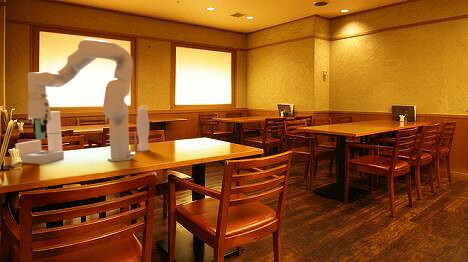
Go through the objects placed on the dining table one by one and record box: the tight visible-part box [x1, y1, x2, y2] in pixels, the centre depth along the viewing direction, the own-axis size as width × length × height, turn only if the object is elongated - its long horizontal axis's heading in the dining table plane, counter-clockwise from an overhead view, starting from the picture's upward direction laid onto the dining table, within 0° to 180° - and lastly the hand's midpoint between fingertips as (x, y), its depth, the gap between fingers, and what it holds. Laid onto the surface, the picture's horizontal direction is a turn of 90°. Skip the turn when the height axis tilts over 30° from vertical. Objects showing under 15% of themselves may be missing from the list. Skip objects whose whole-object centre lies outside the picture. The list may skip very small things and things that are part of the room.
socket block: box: [20, 149, 65, 165], centre depth 167 cm, size 14×14×4 cm
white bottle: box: [133, 104, 151, 153], centre depth 196 cm, size 8×8×28 cm
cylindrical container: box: [46, 110, 64, 151], centre depth 185 cm, size 7×7×25 cm
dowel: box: [35, 119, 46, 140], centre depth 166 cm, size 4×4×10 cm
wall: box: [14, 139, 42, 156], centre depth 169 cm, size 2×14×10 cm, turn 168°
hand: (40, 131), depth 166 cm, fingers closed on dowel, 4 cm apart
